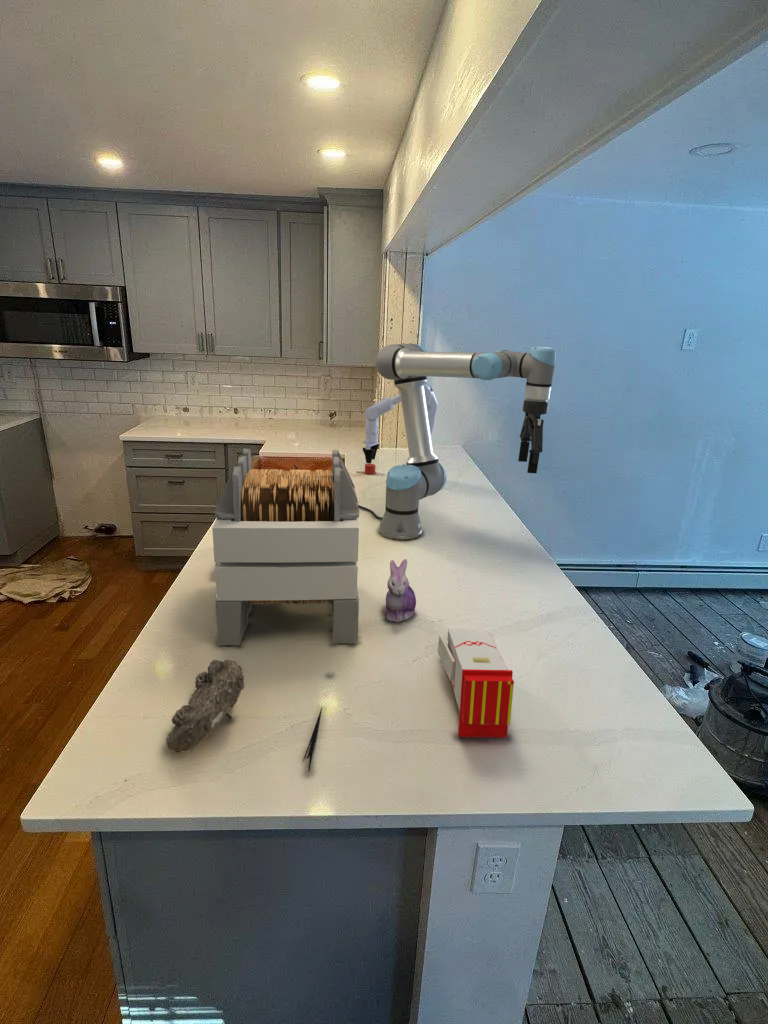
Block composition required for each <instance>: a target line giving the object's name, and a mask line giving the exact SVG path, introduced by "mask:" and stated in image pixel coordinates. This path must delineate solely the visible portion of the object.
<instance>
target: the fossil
mask: <svg viewBox="0 0 768 1024" xmlns="http://www.w3.org/2000/svg"><path fill="white" fill-rule="evenodd" d="M243 670H244V669H243V667H242V665H240V664H237V662H236V661H235V660H234V659H232V658H231V659H227V658H226V659H224V660H223V661H222V660H217V659H212V660H211V661H210V663H209V665H208V666H207V671H201V672H199V673H198V674H197V675H196V676H195V680H194V684H195V685H194V687H195V689H194V690H193V693H192V694H191V697H190V698H189V700H188V704H184V705H182V706H181V707H180V709H177V710H176V711H175V713H174V715H173V716H172V718H171V723H172V724H173V727H172V730H171V731H170V732H168V734H167V738H166V741H167V742H166V745H167V749H168V750H169V751H173V752H174V753H176V754H178V753H182V752H188V751H189V752H192V751H193V750H195V748H196V747H197V746H199V744H200V743H201V742H203V741H204V740H205V739H206V738H207V737H208V736H209V735H210V734H211V733H212V732H214V730H215V729H217V727H218V726H219V724H220V722H221V721H222V720H223V719H224V718H225V716H226V717H227V719H229V720H233V717H232V715H230V714H229V710H230V709H231V708H234V706H235V704H236V703H237V702H238V699H239V697H240V695H241V693H242V691H243V690H245V689H244V688H245V675H244V671H243Z"/></svg>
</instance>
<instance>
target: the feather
mask: <svg viewBox="0 0 768 1024" xmlns="http://www.w3.org/2000/svg"><path fill="white" fill-rule="evenodd" d="M329 675H330V676H331V675H332V674H331V673H330V674H329ZM322 710H323V707H321V708H320V710H319V713H318V716H317V719H316V723H315V725H314V728H313V731H312V733H311V737H310V739H309V742H308V745H307V748H306V751H305V754H304V757H303V760H302V763H301V767H302V765H303V763H304V761H305V758H308V759H309V760H308V762H307V763H308V764H307V766H308V771H310V770H311V766H312V765H311V764H312V760H313V757H315V756H314V755H315V751H316V749H315V746H317V739H318V733H319V729H320V722H321V717H322V712H323V711H322ZM313 754H314V755H313ZM306 755H307V757H306Z"/></svg>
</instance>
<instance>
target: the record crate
mask: <svg viewBox="0 0 768 1024" xmlns="http://www.w3.org/2000/svg"><path fill="white" fill-rule="evenodd" d="M331 454H332V455H331V458H332V459H331V469H325V470H324V469H315V470H311V469H300V470H297V469H289V470H283V469H281V468H280V469H278V468H277V469H273V468H271V469H269V468H266V469H265V468H260V469H259V468H258V469H257V468H252V466H253V465H252V452H251V448H243V449H242V451H241V453H240V455H239V457H238V460H237V462H236V464H235V465H234V466H233V468H232V470H231V473H230V475H229V477H228V479H227V482H226V484H225V486H224V488H223V491H222V492H221V495H220V497H219V499H218V501H217V504H216V506H215V509H214V517H215V518H216V520H214V523H213V525H212V543H213V544H212V545H213V561H214V563H215V564H216V562H217V564H216V567H215V566H214V574H215V591H216V599H215V604H214V605H215V619H216V620H215V621H216V629H217V641H218V642H217V646H219V647H220V646H221V647H225V646H240V644H241V643H242V640H243V637H244V634H245V632H246V629H247V627H248V624H249V615H251V611H252V606H253V605H272V604H273V605H278V604H279V605H281V604H282V605H290V604H292V605H297V604H299V605H300V604H309V605H310V604H315V605H316V604H331V623H332V624H331V626H332V644H351V645H355V644H356V643H357V642H359V607H360V605H359V603H360V598H359V591H358V575H359V574H358V571H359V566H358V562H359V538H360V537H359V535H360V526H359V521H358V518H359V517H360V508H359V507H358V505H359V503H358V497H357V493H356V486H355V484H354V482H353V480H352V477H351V475H350V473H349V471H348V468H347V466H346V464H345V462H344V460H343V458H342V455H341V454H340V451H339V450H338V449H332V453H331Z"/></svg>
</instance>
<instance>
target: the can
mask: <svg viewBox="0 0 768 1024" xmlns="http://www.w3.org/2000/svg"><path fill="white" fill-rule="evenodd" d="M364 474H365V475H371V476H372V475H374V474H376V464H375V463H371V464H370V463H365V464H364Z"/></svg>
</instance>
